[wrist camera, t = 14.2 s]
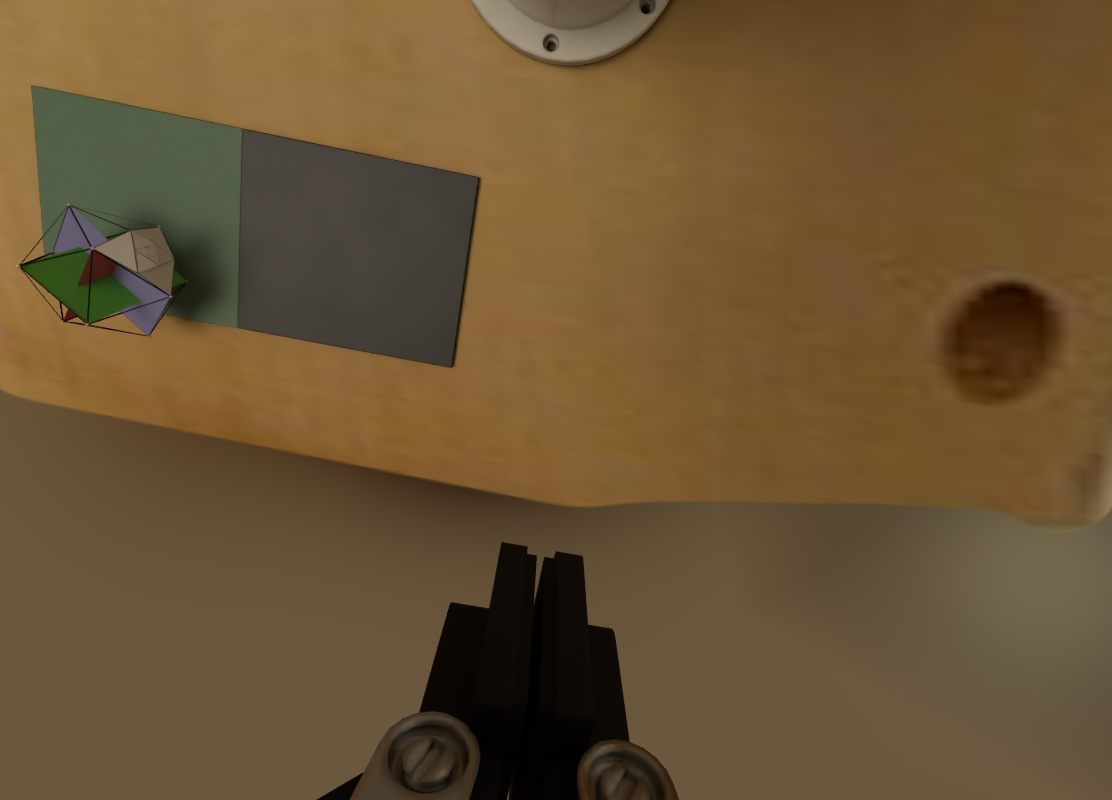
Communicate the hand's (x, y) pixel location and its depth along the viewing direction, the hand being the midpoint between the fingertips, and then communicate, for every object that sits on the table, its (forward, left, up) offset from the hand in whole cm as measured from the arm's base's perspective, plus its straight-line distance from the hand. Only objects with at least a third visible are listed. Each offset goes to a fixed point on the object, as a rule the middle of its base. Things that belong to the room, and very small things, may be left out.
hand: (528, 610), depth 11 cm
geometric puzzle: (0, -25, -27) cm, 37 cm away
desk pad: (-3, -19, -27) cm, 33 cm away
